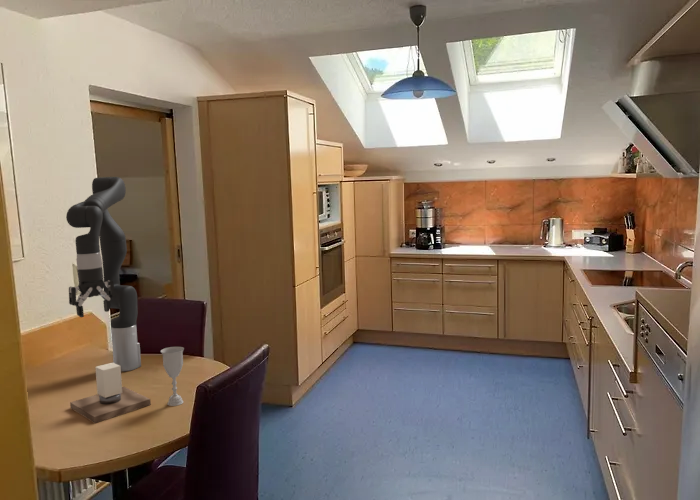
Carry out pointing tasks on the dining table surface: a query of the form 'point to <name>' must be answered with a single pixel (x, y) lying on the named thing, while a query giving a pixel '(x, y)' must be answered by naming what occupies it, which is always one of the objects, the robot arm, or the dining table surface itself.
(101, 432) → the dining table surface
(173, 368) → the chalice
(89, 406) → the walnut block
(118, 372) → the cream rectangular block
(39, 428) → the dining table surface
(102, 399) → the dark grey cylinder
